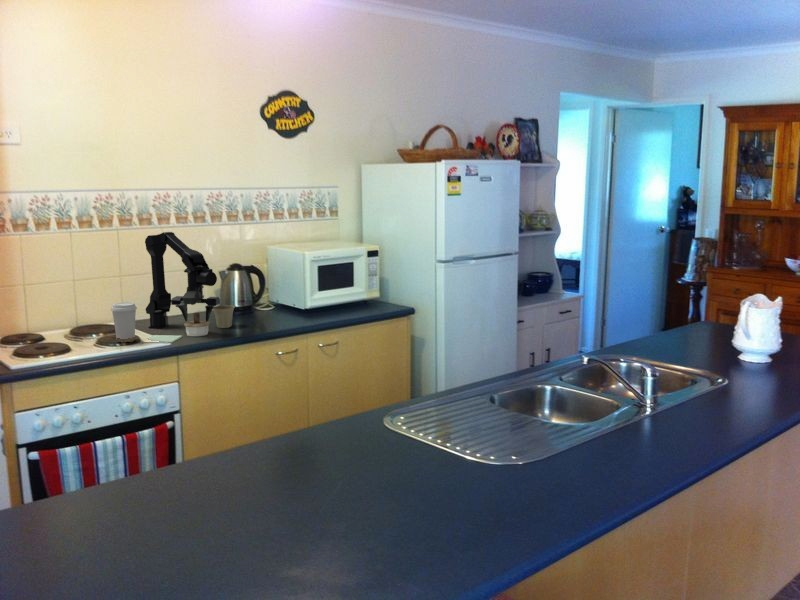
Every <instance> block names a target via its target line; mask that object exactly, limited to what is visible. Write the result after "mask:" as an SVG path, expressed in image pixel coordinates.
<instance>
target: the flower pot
mask: <svg viewBox="0 0 800 600" xmlns="http://www.w3.org/2000/svg"><path fill="white" fill-rule="evenodd" d="M235 308H236V307H235V306H234V305H226V304H225V305H216V306H214V307H213V309H212V311H213V313H214V318H215V323H216V327H217V328H218V329H220V328H221V329H229V328H231V327H232V326H233V325H232V324H233V317H234V316H233V313H234V310H235Z"/></svg>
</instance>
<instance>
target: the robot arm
mask: <svg viewBox="0 0 800 600" xmlns="http://www.w3.org/2000/svg"><path fill="white" fill-rule="evenodd" d="M144 244H145V248H146V251H147V253H148V254H149V256H150V264H151V276H152V292H151V293H150V295H149V303H148V304H147V306H146V308H145V312H146V314H147V315H149V326H148V328H149V329H164V328H166V327H168V326H169V316H168V315H167V313H170V311H171V307H172V306H175V308H178V309H179V310H180V312H181V314H182V316H183V319H184V321H185V322H188V317H189V316H188V315H189V314H188V305H191V306H193V305H196V304H206V305H205V306H204V307H205V321H206V322H209V319H210V317H211V314H212V311H213V307H215V306H219V305H220V304H221V298H220V297H219V296H209V297H207V298H205V295H204V294H203V289H204V286H207V287H213V286H215V285H216V283H217V282H218V276H217V274H216V273H215V272H213V269H212V268H210V267H209V264H208V263H207V261H206V259H205V257H204V254H202V253H201V252H199V251H198V250H195V249H192V248H190V247H189V246H188V245H186V244H185V243H184V242H183V241H182V240H181V239H180V238H178V237H177V236H176V233H174V232H173V231H165V232H164V231H163V232H161V233H159V234H158V233H157V234H151V235H148V236H146V237H145V241H144ZM167 246H168V247H169V248H170V249H172V250H173V251H174V252H175V253H176V254H177V255H179V257H180V258H181V262H182V264H184V266H185V267H186V268H185V269H184V270H183V272H184V273H187V274H186V275H187V287H186V291H185V293H184V294H183V295H181V296H180V295H176V296H174V297H172V294H171V292H168V290H167V287H166V277H165V276H166V275H165V267H164V266H165V262H164V255H165V253H166V251H167Z"/></svg>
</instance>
